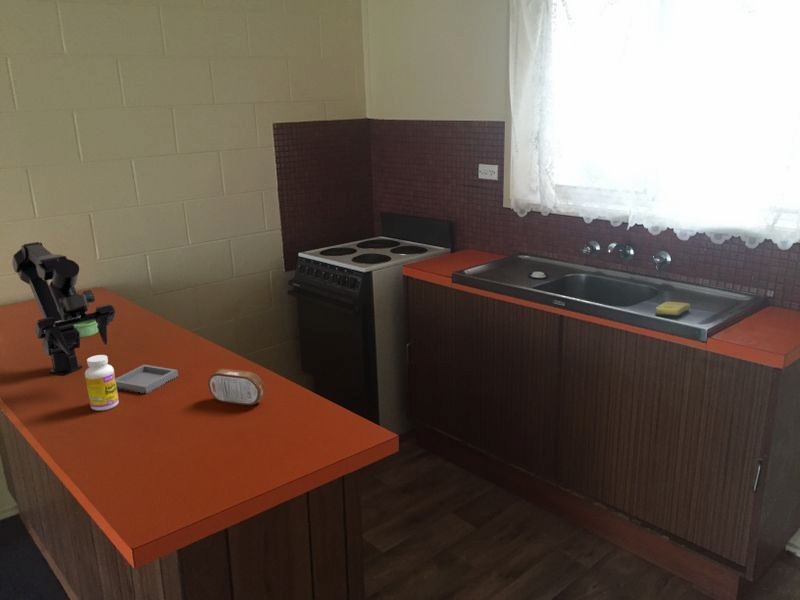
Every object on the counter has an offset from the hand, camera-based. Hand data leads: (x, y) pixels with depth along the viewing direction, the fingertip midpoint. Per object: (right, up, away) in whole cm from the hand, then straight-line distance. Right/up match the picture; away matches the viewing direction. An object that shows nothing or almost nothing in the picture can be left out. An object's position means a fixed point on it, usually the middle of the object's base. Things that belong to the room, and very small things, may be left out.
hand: (87, 348), depth 173 cm
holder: (+11, -10, +11) cm, 18 cm away
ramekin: (-25, +1, +53) cm, 59 cm away
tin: (+39, -13, -3) cm, 41 cm away
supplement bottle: (+6, -14, -2) cm, 16 cm away
